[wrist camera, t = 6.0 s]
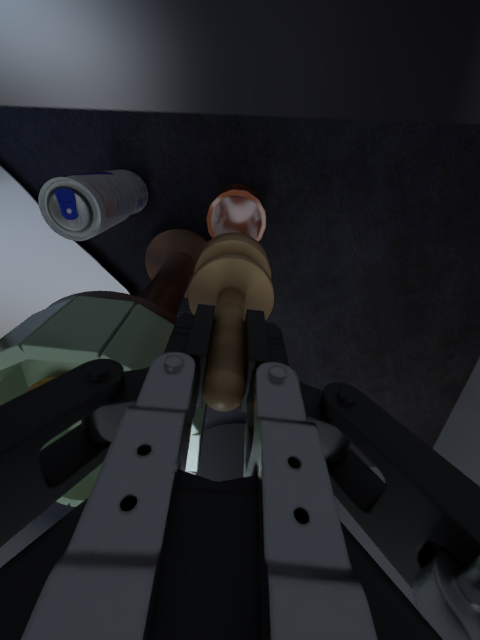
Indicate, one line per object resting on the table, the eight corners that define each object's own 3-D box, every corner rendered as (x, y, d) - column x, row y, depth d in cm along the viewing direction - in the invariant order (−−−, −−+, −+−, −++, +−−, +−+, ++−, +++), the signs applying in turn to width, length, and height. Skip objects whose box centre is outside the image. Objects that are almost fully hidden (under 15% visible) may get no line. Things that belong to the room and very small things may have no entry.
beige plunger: (200, 227, 18) (139, 330, 7) (274, 236, 18) (318, 349, 8) (196, 295, 20) (146, 448, 10) (262, 302, 20) (284, 460, 10)
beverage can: (105, 168, 36) (26, 176, 23) (146, 169, 36) (91, 176, 23) (114, 212, 38) (47, 242, 25) (152, 212, 38) (106, 242, 25)
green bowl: (-7, 285, 16) (-97, 332, 12) (215, 310, 17) (206, 363, 13) (41, 434, 23) (-7, 501, 18) (203, 448, 23) (194, 515, 19)
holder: (214, 180, 36) (208, 186, 30) (266, 187, 37) (271, 194, 30) (210, 232, 39) (204, 247, 33) (258, 238, 40) (261, 254, 33)
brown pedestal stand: (135, 211, 38) (-7, 285, 16) (230, 223, 39) (215, 310, 17) (140, 297, 44) (41, 434, 23) (222, 306, 45) (203, 448, 23)
